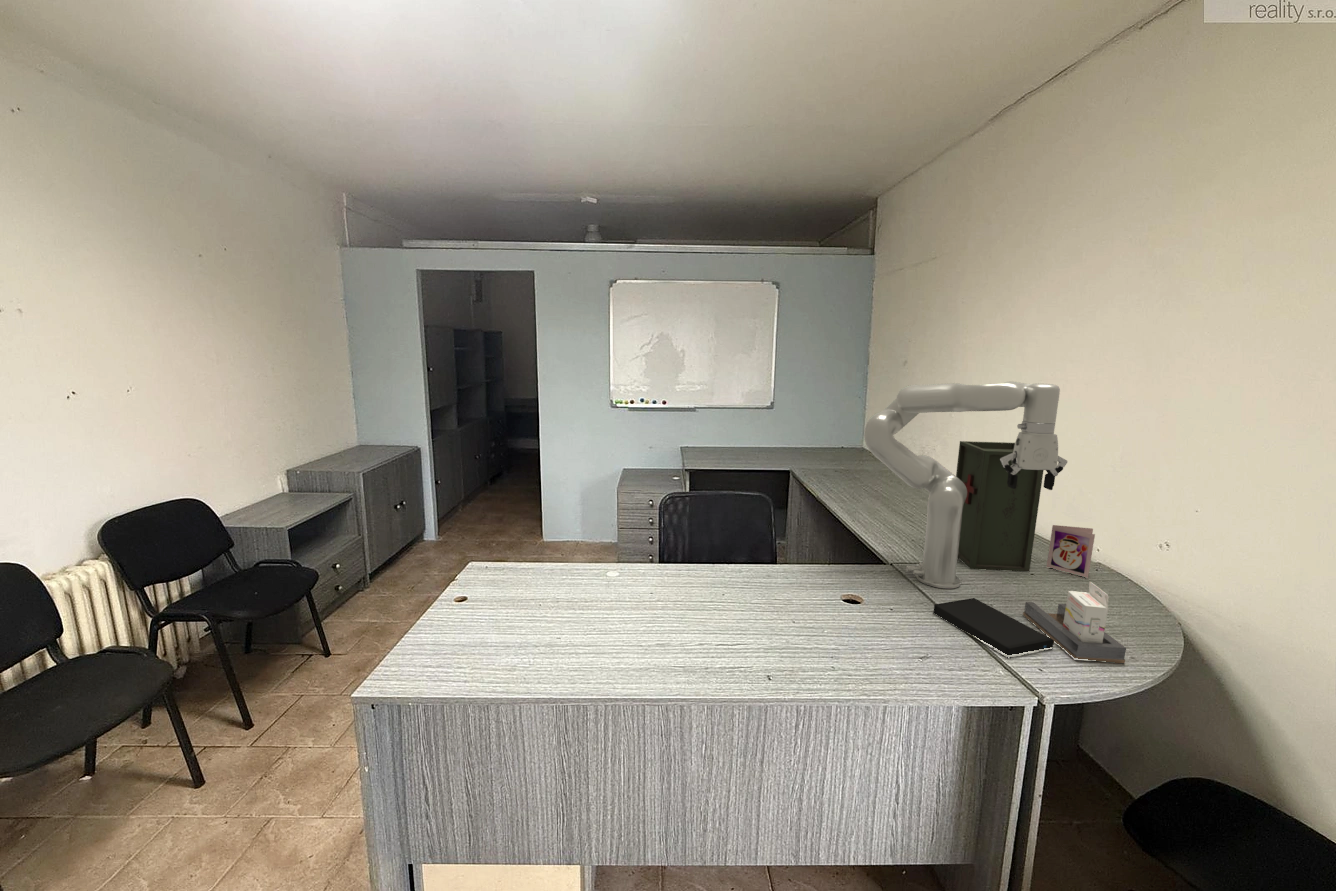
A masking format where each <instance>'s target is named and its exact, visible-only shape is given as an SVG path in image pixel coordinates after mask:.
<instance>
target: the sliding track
mask: <svg viewBox="0 0 1336 891" xmlns="http://www.w3.org/2000/svg"><path fill="white" fill-rule="evenodd" d="M1065 609H1066V603H1058V606H1057V612H1056V613H1052V612H1051V613H1048V612H1046V611H1045V610H1044V609H1042V608H1041V607H1040V606H1039V605H1037V604H1036V603H1035V602H1034V601H1033V602H1032V601H1025V605H1024V611H1023V613H1022V616H1023V615H1024V616H1025V617H1026V618H1027V619H1026V618H1025V617H1024V616H1023V617H1024V618H1025V619H1026V620H1028V619H1029V620H1030V621H1031V622H1032V623H1034V624H1035V625H1036V626H1037V627H1038V628H1039V629H1041V630H1042V631H1043V632H1044V633H1045V634H1047V635H1048V636H1049V637H1050V638H1051V639H1053V640H1054V641H1055V642H1056V643H1057V644H1059V645H1060V646H1061V647H1062V648H1064V649H1065V650H1066V651H1067V652H1068V653H1069V654H1070V655H1072V656H1073V657H1074V658H1078V659H1088V660H1096V661H1106V662H1115V663H1114V664H1120V663H1126V659H1125V657H1126V651H1127V647H1126V646H1125V645H1123V644H1122V643H1121V642H1119V641H1118V640H1116V639H1114V637H1112V636H1111V635H1109V634H1108V633H1106V632H1105V631H1104V636H1103V643H1085V642H1082V641H1081V640H1080V639H1078V638H1077V637H1076V636H1075V635H1073V634H1072V633H1071V632H1070V631H1068V630H1067V629H1066V628H1065V627H1063V622H1064V616H1065ZM1029 620H1028V621H1029ZM1030 621H1029V622H1030ZM1031 622H1030V623H1031ZM1032 623H1031V624H1032ZM1037 627H1036V628H1037ZM1038 628H1037V629H1038ZM1039 629H1038V630H1039ZM1045 634H1044V635H1045Z"/></svg>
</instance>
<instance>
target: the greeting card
mask: <svg viewBox="0 0 1336 891" xmlns="http://www.w3.org/2000/svg"><path fill="white" fill-rule="evenodd" d="M1051 526H1052V527H1051V534H1050V542H1049V548H1048V554H1047V561H1046V567H1050V568H1054V569H1057V570H1061V571H1065V572H1069V573H1073V574H1077V575H1080V576H1084V577H1087V578H1088V579H1089V574H1090V570H1091V569H1090V568H1091V563H1092V562H1091V561H1092V556H1093V555H1092V554H1093V549H1094V543H1095V537H1096V534H1095V533H1093V532H1094V528H1089V527H1079V526H1067V525H1059V524H1057V525H1056V524H1052V525H1051Z"/></svg>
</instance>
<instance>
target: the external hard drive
mask: <svg viewBox="0 0 1336 891" xmlns="http://www.w3.org/2000/svg"><path fill="white" fill-rule="evenodd" d="M934 613H935V614H937V615H938V616H937V615H936V616H937V617H939V616H940V617H942V618H943V619H942V618H941V619H942V620H944V619H945V620H947V621H948V622H950V623H952V624H954V625H955V626H957V627H958V628H960V629H962V630H964V631H966V632H968V633H970V634H971V635H974V636H976V637H977V638H979V639H980V640H983V641H984V642H986V643H988V644H990V645H992V646H993V647H995V648H997V649H998V650H1000V651H1002V652H1003V653H1005V654H1007V655H1012V654H1019V653H1023V652H1028V651H1034V650H1039V649H1044V648H1050V647H1053V648H1054V640H1053V639H1051V638H1049V637H1047V636H1046V635H1045V634H1043V633H1042V632H1041V631H1039V630H1038V631H1037V630H1036V629H1034V628H1032V627H1030V626H1028V625H1026V624H1024V623H1023V622H1021V621H1018V620H1016V619H1015V618H1013V617H1011V616H1009V615H1007V614H1005V613H1004V612H1002V611H1000V610H998V609H996V608H994V607H993V606H990V605H989V604H986V603H985V602H984V601H983V602H982V601H980V600H979V599H977V598H975V597H972V598H965V599H960V600H952V601H947V602H942V603H936V604H934V605H933V613H932V614H934ZM935 614H934V615H935ZM940 617H939V618H940ZM945 620H944V621H945ZM947 621H946V622H947ZM948 622H947V623H948ZM950 623H949V624H950ZM952 624H951V625H952ZM955 626H954V627H955ZM957 627H956V628H957ZM958 628H957V629H958ZM960 629H959V630H960ZM962 630H961V631H962Z"/></svg>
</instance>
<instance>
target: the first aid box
mask: <svg viewBox="0 0 1336 891" xmlns="http://www.w3.org/2000/svg"><path fill="white" fill-rule="evenodd" d="M1014 445H1015V442H1005V441H1003V442H998V441H971V440H970V441H965V440H963V441H962V440H960V441H959V447H958V456H957V466H956V473H955V476H956V477H957V478H959V479H960V480H961V481H962V482H963V483H964V484H965V486H966V488H967V497H966V500H965V502H964V505H963V511H962V522H961V532H960V542H959V550H958V559H959V560H960V561H961V562H962V563H963V564H964V565H965V566H967V567H968V569H970V570H979V569H986V570H985V571H1000V570H1012V571H1011V572H1021V571H1029V572H1030V568H1031V563H1032V562H1031V561H1032V555H1033V548H1034V541H1035V534H1036V526H1037V518H1038V512H1039V506H1040V497H1041V490H1042V486H1043V485H1042V484H1043V478H1044V476H1043V475H1044V471H1045V470H1027V469H1021V470H1019V471H1018V472H1017V473H1016V475H1017V476H1018V478H1017V486H1016V489H1012V488H1010V487H1008V484H1007V480H1008V473H1007V471H1006V470H1005V469H1004V468H1003V465H1002V463H1001V461H1000V458H1002V457H1004V456H1007V455H1009V454H1011V453H1013V450H1014ZM1008 463H1009V466H1011V465H1012V460H1009V461H1008Z"/></svg>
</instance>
